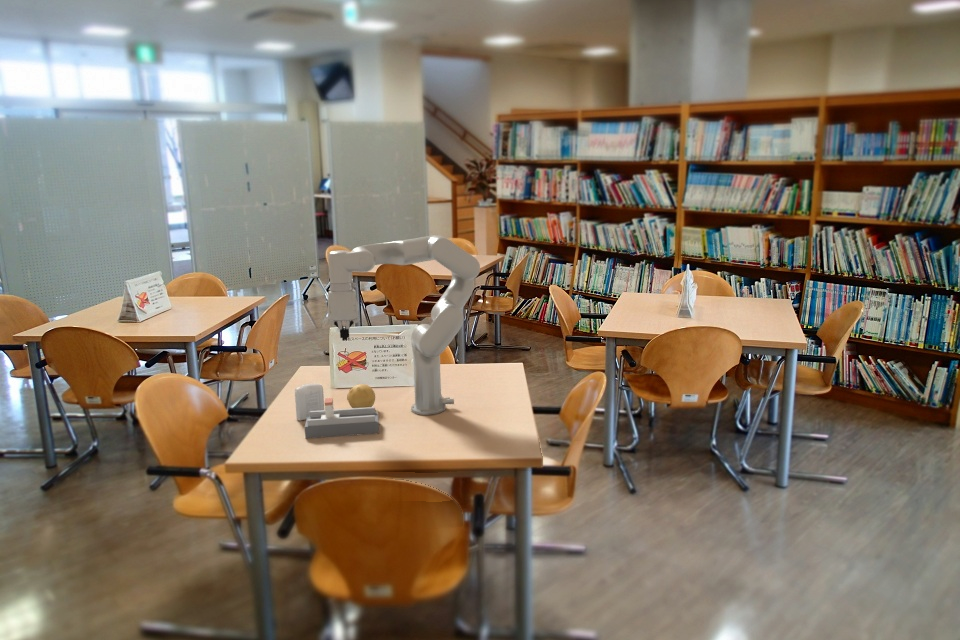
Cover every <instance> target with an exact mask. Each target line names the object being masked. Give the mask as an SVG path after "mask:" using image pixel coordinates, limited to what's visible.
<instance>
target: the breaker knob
mask: <svg viewBox="0 0 960 640" xmlns="http://www.w3.org/2000/svg"><path fill="white" fill-rule="evenodd" d="M324 410H325V414H324V415H321V419H323V418H338V417H339V416H340V414H334V410H335V408H334V398H333V397H329V398H328V397H327V398H324Z"/></svg>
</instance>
